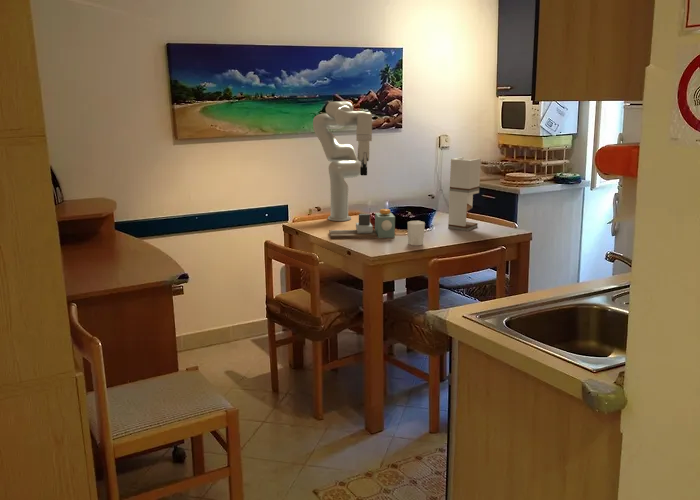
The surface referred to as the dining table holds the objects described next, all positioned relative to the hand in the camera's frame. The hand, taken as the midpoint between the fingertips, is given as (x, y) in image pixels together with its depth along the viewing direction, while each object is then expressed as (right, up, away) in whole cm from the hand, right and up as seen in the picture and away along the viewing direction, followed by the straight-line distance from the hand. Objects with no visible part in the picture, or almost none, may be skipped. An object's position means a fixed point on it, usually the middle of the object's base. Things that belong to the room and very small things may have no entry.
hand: (363, 175), depth 328 cm
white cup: (+23, -35, -25) cm, 49 cm away
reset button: (+10, -19, -11) cm, 24 cm away
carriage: (0, -28, -9) cm, 30 cm away
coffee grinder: (+51, -26, +10) cm, 58 cm away
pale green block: (+10, -30, -8) cm, 33 cm away
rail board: (-5, -30, -10) cm, 32 cm away
